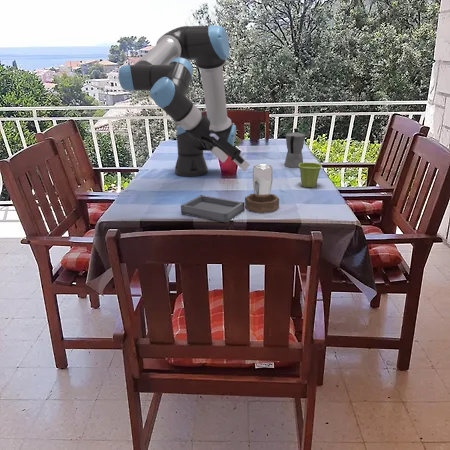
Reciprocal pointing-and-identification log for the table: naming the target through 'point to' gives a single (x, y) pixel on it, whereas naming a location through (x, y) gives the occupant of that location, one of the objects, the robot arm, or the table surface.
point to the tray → (213, 208)
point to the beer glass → (262, 182)
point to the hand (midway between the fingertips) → (235, 163)
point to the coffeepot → (294, 149)
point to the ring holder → (261, 204)
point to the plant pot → (309, 174)
